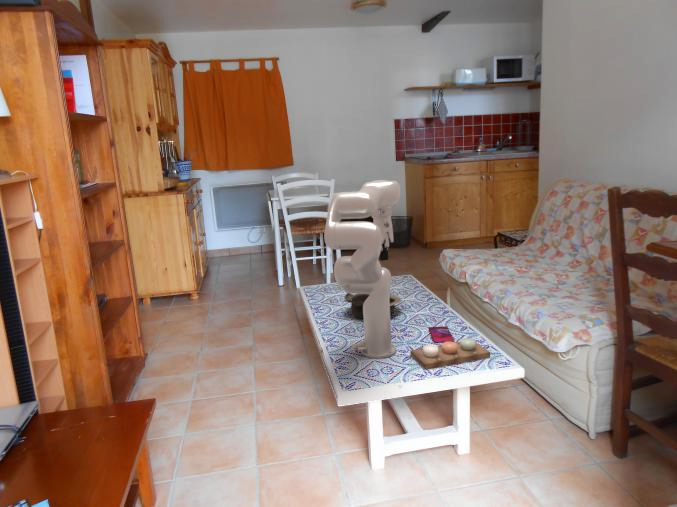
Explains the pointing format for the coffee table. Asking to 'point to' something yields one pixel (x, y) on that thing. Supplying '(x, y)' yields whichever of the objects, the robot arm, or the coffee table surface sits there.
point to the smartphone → (440, 334)
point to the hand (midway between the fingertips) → (383, 259)
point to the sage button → (467, 344)
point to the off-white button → (430, 350)
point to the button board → (449, 356)
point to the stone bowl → (360, 298)
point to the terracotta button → (449, 347)
